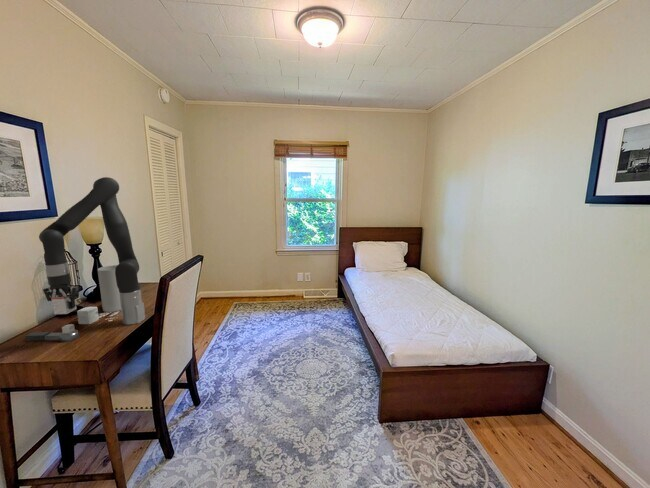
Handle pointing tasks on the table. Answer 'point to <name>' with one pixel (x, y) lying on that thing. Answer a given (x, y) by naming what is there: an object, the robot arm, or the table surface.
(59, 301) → the white rectangular block
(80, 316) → the skincare box
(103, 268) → the cylinder vase
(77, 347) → the table surface
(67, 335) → the ratchet
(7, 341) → the table surface
